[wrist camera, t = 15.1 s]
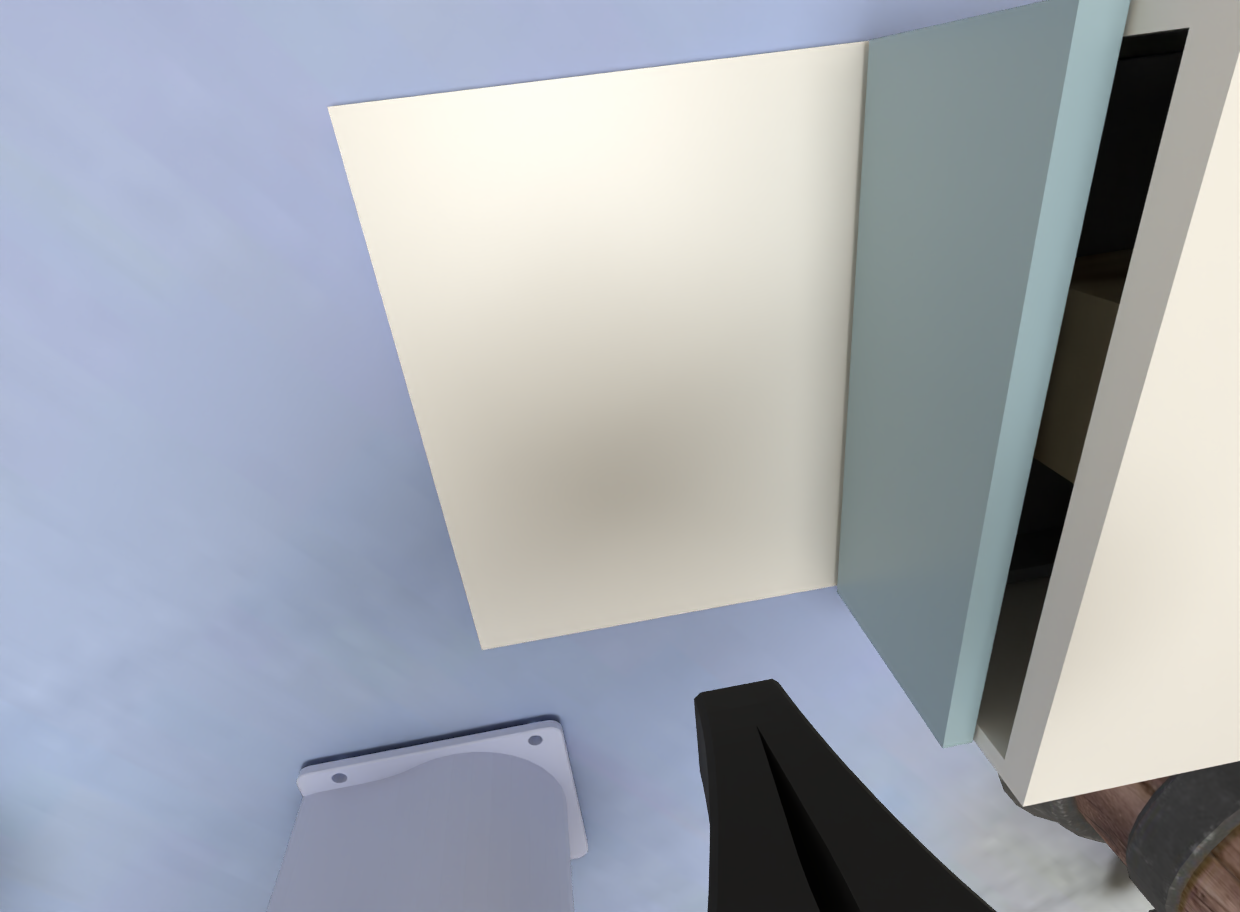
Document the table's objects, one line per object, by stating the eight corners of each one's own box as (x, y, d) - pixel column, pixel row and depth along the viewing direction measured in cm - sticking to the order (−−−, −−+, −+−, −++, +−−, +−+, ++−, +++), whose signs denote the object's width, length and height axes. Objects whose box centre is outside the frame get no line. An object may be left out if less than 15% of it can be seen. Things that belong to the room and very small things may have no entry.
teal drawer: (836, 591, 22) (942, 748, 17) (869, 40, 15) (1080, -8, 9) (1139, 536, 23) (1335, 668, 18) (1316, -15, 16) (1758, -88, 10)
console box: (482, 641, 22) (463, 924, 14) (332, 107, 15) (120, 94, 7) (1145, 521, 24) (1450, 716, 16) (1318, -13, 16) (2050, -135, 8)
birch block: (980, 422, 19) (1116, 511, 15) (1004, 268, 17) (1171, 320, 13) (1121, 398, 20) (1296, 478, 15) (1163, 243, 17) (1380, 285, 13)
